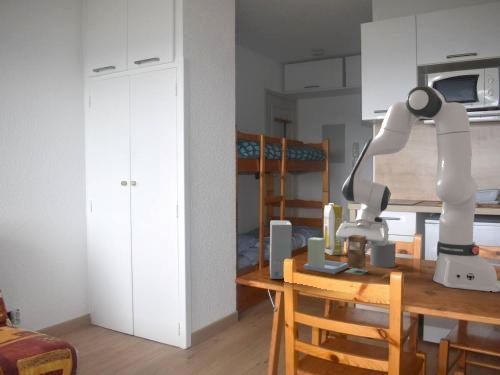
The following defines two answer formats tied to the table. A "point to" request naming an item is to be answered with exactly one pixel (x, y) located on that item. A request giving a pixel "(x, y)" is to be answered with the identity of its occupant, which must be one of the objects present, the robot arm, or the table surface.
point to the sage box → (316, 252)
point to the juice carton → (333, 228)
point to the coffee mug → (383, 255)
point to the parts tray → (328, 267)
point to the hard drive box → (279, 246)
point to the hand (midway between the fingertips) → (356, 250)
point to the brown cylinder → (356, 251)
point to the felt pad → (356, 271)
